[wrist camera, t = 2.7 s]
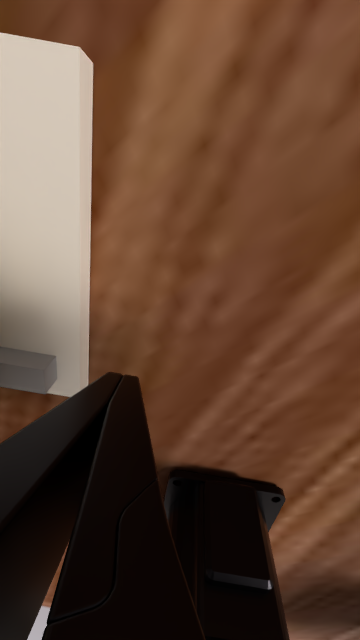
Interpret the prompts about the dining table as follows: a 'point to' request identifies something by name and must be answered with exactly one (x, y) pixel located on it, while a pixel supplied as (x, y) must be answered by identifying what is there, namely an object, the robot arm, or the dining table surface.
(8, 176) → the pitch board
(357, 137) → the dining table surface
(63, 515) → the robot arm
